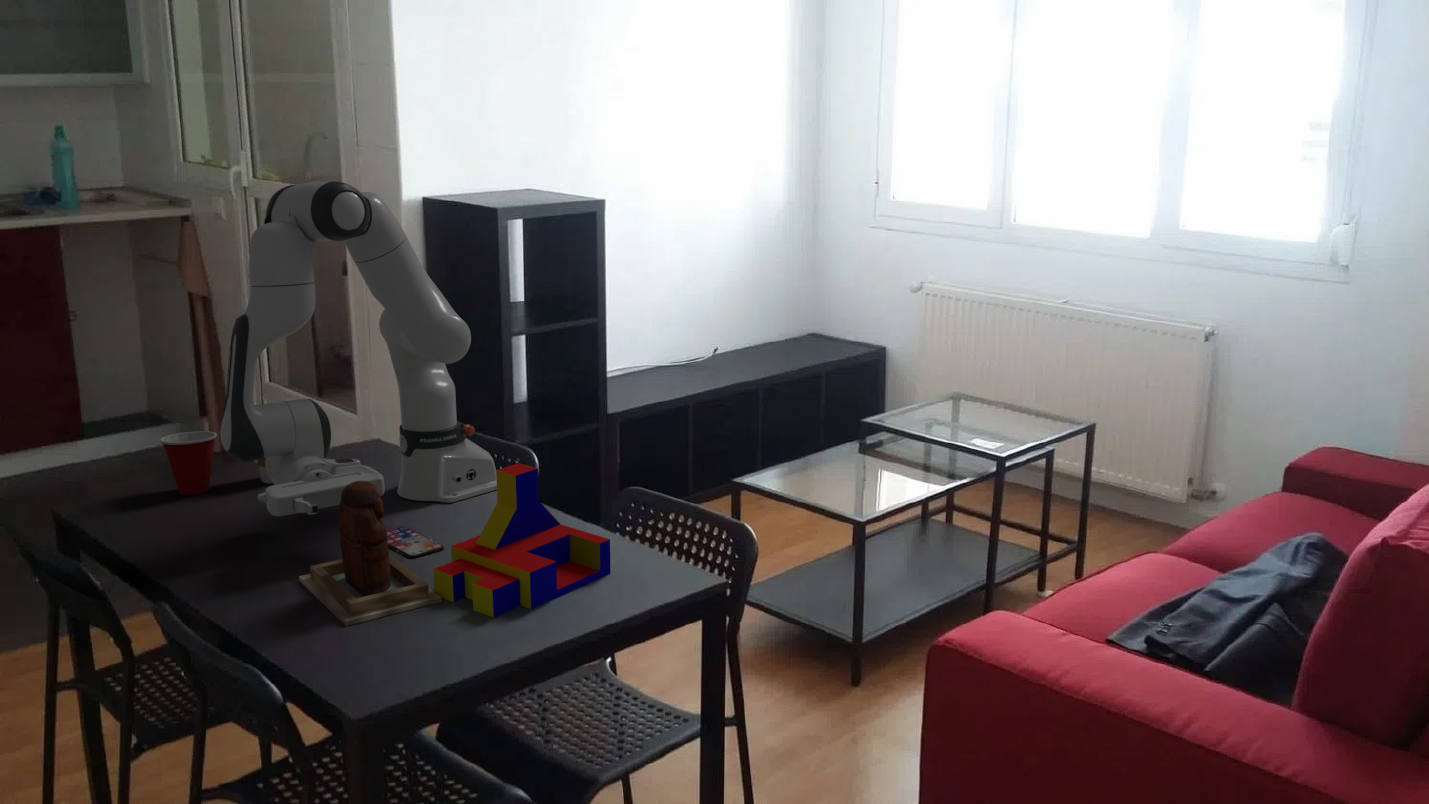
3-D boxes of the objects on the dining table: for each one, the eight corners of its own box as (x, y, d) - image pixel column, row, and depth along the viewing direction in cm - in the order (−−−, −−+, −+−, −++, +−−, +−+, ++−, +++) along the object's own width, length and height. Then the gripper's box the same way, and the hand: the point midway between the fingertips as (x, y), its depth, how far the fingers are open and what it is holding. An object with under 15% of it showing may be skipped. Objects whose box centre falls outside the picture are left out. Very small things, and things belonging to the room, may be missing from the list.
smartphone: (410, 557, 221) (368, 534, 232) (410, 562, 222) (369, 539, 232) (446, 546, 226) (404, 524, 237) (447, 551, 227) (404, 529, 237)
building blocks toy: (425, 593, 208) (419, 489, 204) (533, 549, 227) (530, 453, 223) (503, 623, 197) (499, 513, 192) (610, 575, 216) (609, 474, 212)
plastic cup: (221, 479, 264) (215, 425, 261) (223, 495, 254) (218, 438, 251) (165, 486, 260) (159, 430, 256) (165, 502, 250) (159, 444, 247)
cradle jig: (389, 560, 221) (388, 545, 221) (441, 601, 204) (440, 585, 203) (299, 580, 212) (297, 565, 211) (346, 626, 195) (344, 609, 194)
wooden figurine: (401, 591, 206) (394, 487, 201) (363, 600, 202) (356, 495, 197) (372, 569, 215) (365, 469, 210) (336, 577, 211) (328, 476, 206)
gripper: (252, 477, 218) (278, 498, 207) (365, 456, 230) (395, 476, 219) (255, 511, 220) (281, 534, 209) (368, 489, 231) (397, 510, 221)
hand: (341, 504), depth 214 cm, fingers open, 8 cm apart
